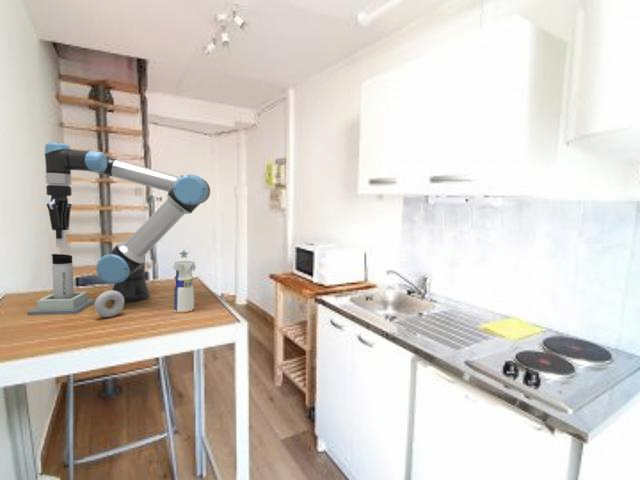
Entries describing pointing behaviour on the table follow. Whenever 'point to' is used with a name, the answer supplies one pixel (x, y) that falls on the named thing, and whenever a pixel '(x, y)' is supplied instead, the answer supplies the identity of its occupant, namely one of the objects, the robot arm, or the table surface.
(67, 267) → the travel mug
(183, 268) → the water bottle
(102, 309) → the donut
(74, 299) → the dock
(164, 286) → the table surface
